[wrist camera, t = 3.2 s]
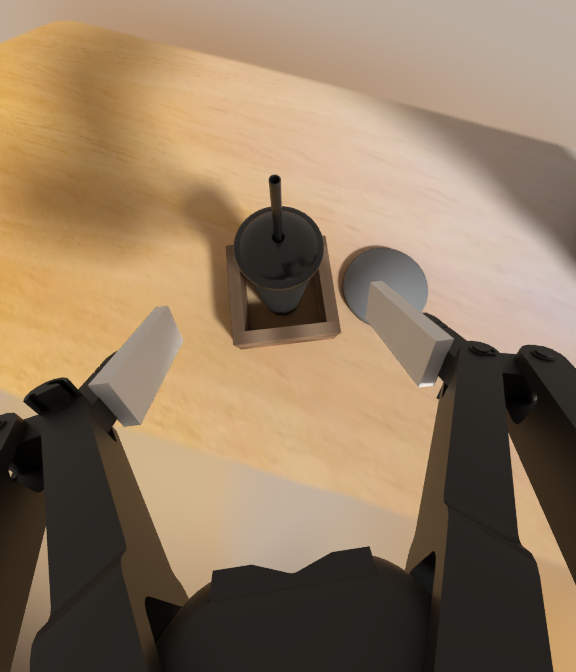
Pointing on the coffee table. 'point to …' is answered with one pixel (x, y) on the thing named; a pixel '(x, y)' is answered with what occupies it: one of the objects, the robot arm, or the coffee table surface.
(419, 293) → the coaster
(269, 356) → the coffee table surface
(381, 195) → the coffee table surface
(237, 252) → the drinking cup
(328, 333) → the wooden square tray
